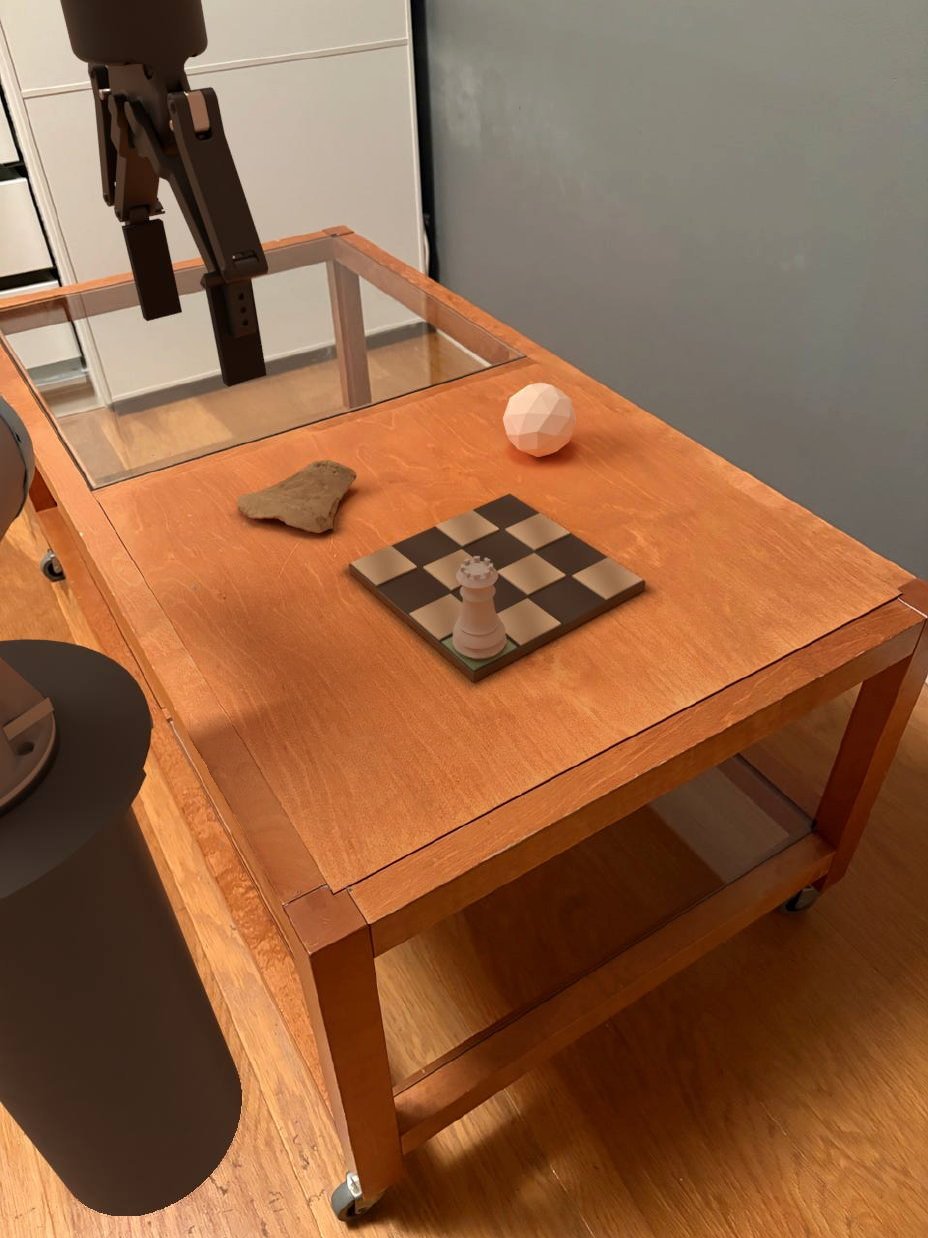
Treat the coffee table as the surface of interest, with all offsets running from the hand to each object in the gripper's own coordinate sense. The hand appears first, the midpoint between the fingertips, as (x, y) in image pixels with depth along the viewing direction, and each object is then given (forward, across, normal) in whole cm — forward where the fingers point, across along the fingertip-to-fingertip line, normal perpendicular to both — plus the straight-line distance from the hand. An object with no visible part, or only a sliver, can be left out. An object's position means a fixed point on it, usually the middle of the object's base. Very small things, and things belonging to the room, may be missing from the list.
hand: (201, 345), depth 65 cm
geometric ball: (+26, +9, -39) cm, 47 cm away
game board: (+26, -7, -20) cm, 33 cm away
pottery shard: (+26, +16, -13) cm, 33 cm away
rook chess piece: (+25, -14, -13) cm, 31 cm away
